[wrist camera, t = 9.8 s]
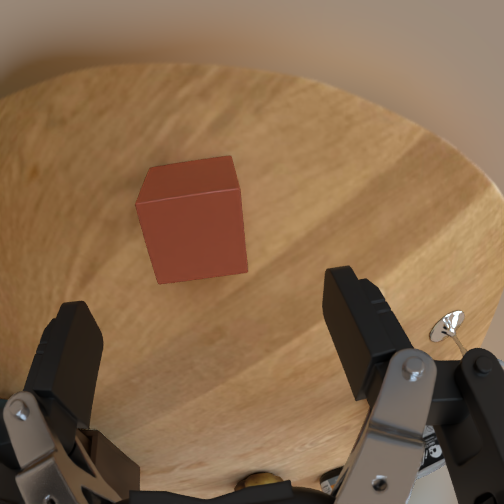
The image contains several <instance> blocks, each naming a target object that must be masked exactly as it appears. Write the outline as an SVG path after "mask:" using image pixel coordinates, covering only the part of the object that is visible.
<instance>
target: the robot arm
mask: <svg viewBox="0 0 504 504" xmlns="http://www.w3.org/2000/svg"><path fill="white" fill-rule="evenodd" d="M322 308H323V315H324V319H325V322H326V325H327V327H328V330H329V332H330V335H331V337H332V340H333V342H334V345H335V348H336V350H337V353H338V355H339V358H340V361H341V363H342V366H343V368H344V371H345V374H346V376H347V379H348V382H349V384H350V387H351V390H352V392H353V395H354V398H355V400H356V401H358V400H362V399H366V398H367V401H368V404H369V406H370V407H369V409H368V412H367V415H366V417H365V420H364V422H363V425H362V427H361V430H360V432H359V434H358V437H357V439H356V442H355V444H354V446H353V448H352V451H351V453H350V455H349V457H348V459H347V461H346V463H345V465H344V467H343V469H342V471H341V473H340V475H339V477H338V479H337V481H336V483H335V485H334V487H333V489H332V491H331V493H330V495H329V494H327V493H324V492H322V491H319V490H315V489H311V488H305V487H293V486H292V485H291V481H290V480H287V481H281V482H275V483H269V484H262V485H255V486H248V487H246V488H243V489H240V490H237V491H234V492H231V493H228V494H225V495H222V496H219V497H216V498H212V499H200V498H195V497H189V496H185V495H180V494H176V493H171V492H167V491H138V490H129V498H127V499H124V500H122V499H121V498H120V496H119V495H118V494H117V493H116V492H115V491H114V490H113V489H112V488H111V487H110V486H109V485H108V484H107V483H106V482H105V481H104V479H103V478H102V476H101V475H100V473H99V472H98V470H97V469H96V467H95V466H94V464H93V462H92V461H91V459H90V457H89V456H88V454H87V452H86V451H85V449H84V447H83V446H82V444H81V442H80V440H79V439H78V437H77V436H76V429H77V428H86V429H89V423H90V416H91V410H92V404H93V398H94V392H95V387H96V381H97V376H98V371H99V366H100V361H101V356H102V351H103V336H102V333H101V331H100V329H99V327H98V325H97V323H96V321H95V319H94V318H93V316H92V314H91V312H90V310H89V308H88V306H87V304H86V303H85V302H84V301H75V302H65V303H63V304H62V305H61V307H60V309H59V312H58V314H57V317H56V318H54V319H52V320H51V322H50V323H49V324H48V326H47V327H46V328H45V329H44V332H43V334H42V337H41V339H40V344H39V345H38V348H37V350H36V354H35V356H34V359H33V362H32V365H31V368H30V371H29V374H28V377H27V380H26V383H25V387H24V390H23V391H20V392H17V393H15V394H13V395H12V396H11V397H10V398H9V399H8V401H7V402H6V404H5V407H4V408H3V409H0V504H407V503H408V500H409V498H410V495H411V492H412V489H413V487H414V484H415V481H416V478H417V475H418V472H419V469H420V466H421V462H422V459H423V456H424V452H425V447H426V441H425V440H423V433H424V429H425V426H430V425H432V426H433V429H434V431H435V434H436V437H437V440H438V442H439V445H440V448H441V451H442V454H443V456H444V459H445V462H446V465H447V468H448V471H449V474H450V477H451V480H452V484H453V487H454V490H455V493H456V497H457V500H458V504H504V370H503V368H502V366H501V364H500V363H499V361H498V359H497V358H496V357H495V356H494V355H493V354H492V353H491V352H489V351H487V350H485V349H482V348H474V349H471V350H469V351H467V352H466V353H465V354H464V356H463V358H462V359H461V360H450V361H438V360H433V359H432V358H431V357H430V356H429V355H428V354H427V353H425V352H423V351H421V350H419V349H414V347H413V346H412V344H411V342H410V341H409V339H408V337H407V335H406V334H405V332H404V330H403V328H402V327H401V325H400V323H399V321H398V320H397V318H396V316H395V315H394V313H393V311H391V308H390V306H389V305H388V303H387V301H385V298H384V296H383V295H382V293H381V291H380V290H379V288H378V287H377V286H375V285H374V284H373V283H372V282H370V281H369V280H368V279H366V278H365V279H360V280H358V278H357V277H356V275H355V273H354V271H353V270H352V268H351V267H350V266H341V267H335V268H329V269H326V271H325V279H324V291H323V302H322Z"/></svg>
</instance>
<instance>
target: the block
mask: <svg viewBox="0 0 504 504" xmlns="http://www.w3.org/2000/svg"><path fill="white" fill-rule="evenodd" d="M135 206H136V210H137V214H138V217H139V221H140V225H141V228H142V232H143V236H144V239H145V243H146V246H147V249H148V253H149V256H150V259H151V263H152V266H153V269H154V273H155V276H156V279H157V282H158V284H167V283H175V282H182V281H190V280H197V279H205V278H212V277H219V276H226V275H234V274H241V273H247V272H248V264H247V254H246V244H245V233H244V223H243V213H242V202H241V192H240V186H239V183H238V179H237V175H236V171H235V168H234V164H233V160H232V157H231V156H224V157H216V158H209V159H202V160H195V161H188V162H182V163H175V164H169V165H163V166H157V167H152V168H149V171H148V173H147V176H146V178H145V180H144V183H143V185H142V188H141V190H140V193H139V195H138V198H137V200H136V203H135Z"/></svg>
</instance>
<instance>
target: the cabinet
mask: <svg viewBox="0 0 504 504" xmlns="http://www.w3.org/2000/svg"><path fill="white" fill-rule="evenodd" d="M79 431H80V432H81V433H83V434H84V435H85V436H86V437H87V438H88V439H89V440H91V441H92V446H91V457H90V459H91V461H92V462H93V464H94V466H95V467H96V469H97V470H98V472H99V473H100V475H101V476H102V478H103V479H104V481H105V482H106V483H107V484H108V485H109V486H110V487H111V488H112V489H113V490H114V491H115V492H116V493H117V494H118V495H119V496H120V498H121V499H122V500H124V499H127V498H129V490H138V491H140V467H139V466H138V465H137V464H136V463H134V462H133V461H132V460H131V459H130V458H128V457H127V456H126V455H125V454H124V453H123V452H121V451H120V450H119V449H118V448H117V447H116V446H115V445H113V444H112V443H111V442H110V441H109V440H108V439H107V438H106V437H105V436H104V435H103V434H101V433H100V432H99V431H92V430H79Z"/></svg>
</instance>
